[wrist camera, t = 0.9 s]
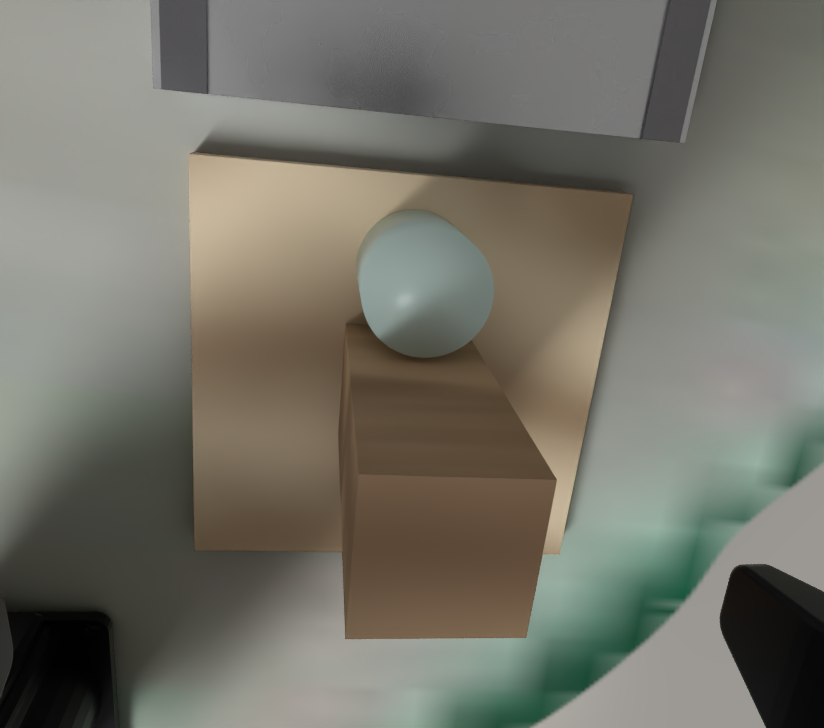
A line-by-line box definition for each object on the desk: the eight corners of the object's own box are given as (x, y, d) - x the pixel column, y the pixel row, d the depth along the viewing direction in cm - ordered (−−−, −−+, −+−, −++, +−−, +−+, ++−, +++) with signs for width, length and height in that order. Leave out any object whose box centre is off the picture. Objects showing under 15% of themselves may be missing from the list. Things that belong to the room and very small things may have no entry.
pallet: (548, 533, 24) (679, 787, 15) (200, 528, 23) (117, 809, 14) (616, 189, 20) (849, 259, 11) (196, 151, 18) (73, 196, 9)
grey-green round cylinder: (461, 325, 20) (484, 361, 17) (351, 318, 19) (356, 354, 17) (476, 214, 19) (502, 233, 16) (360, 204, 18) (366, 221, 15)
